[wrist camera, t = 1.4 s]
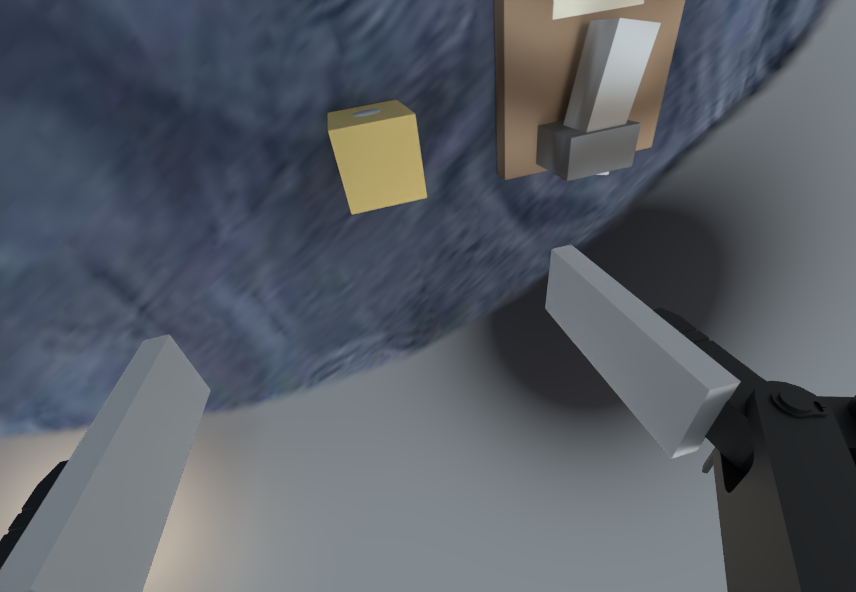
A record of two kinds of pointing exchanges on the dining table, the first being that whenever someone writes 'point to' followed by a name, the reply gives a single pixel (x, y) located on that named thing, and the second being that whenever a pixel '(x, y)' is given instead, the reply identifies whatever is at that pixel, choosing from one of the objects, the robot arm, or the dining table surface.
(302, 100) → the dining table surface
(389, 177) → the block
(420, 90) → the dining table surface
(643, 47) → the brown wooden base
